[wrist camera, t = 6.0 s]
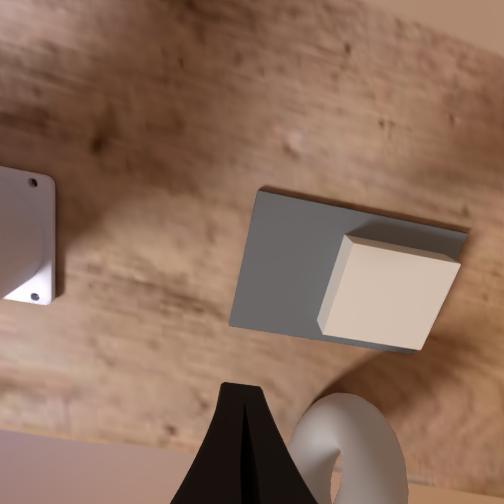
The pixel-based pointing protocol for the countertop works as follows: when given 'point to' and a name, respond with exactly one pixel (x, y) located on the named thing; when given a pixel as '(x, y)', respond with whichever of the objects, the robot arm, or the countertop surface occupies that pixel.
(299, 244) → the mat
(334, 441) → the donut
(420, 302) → the tile
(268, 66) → the countertop surface
